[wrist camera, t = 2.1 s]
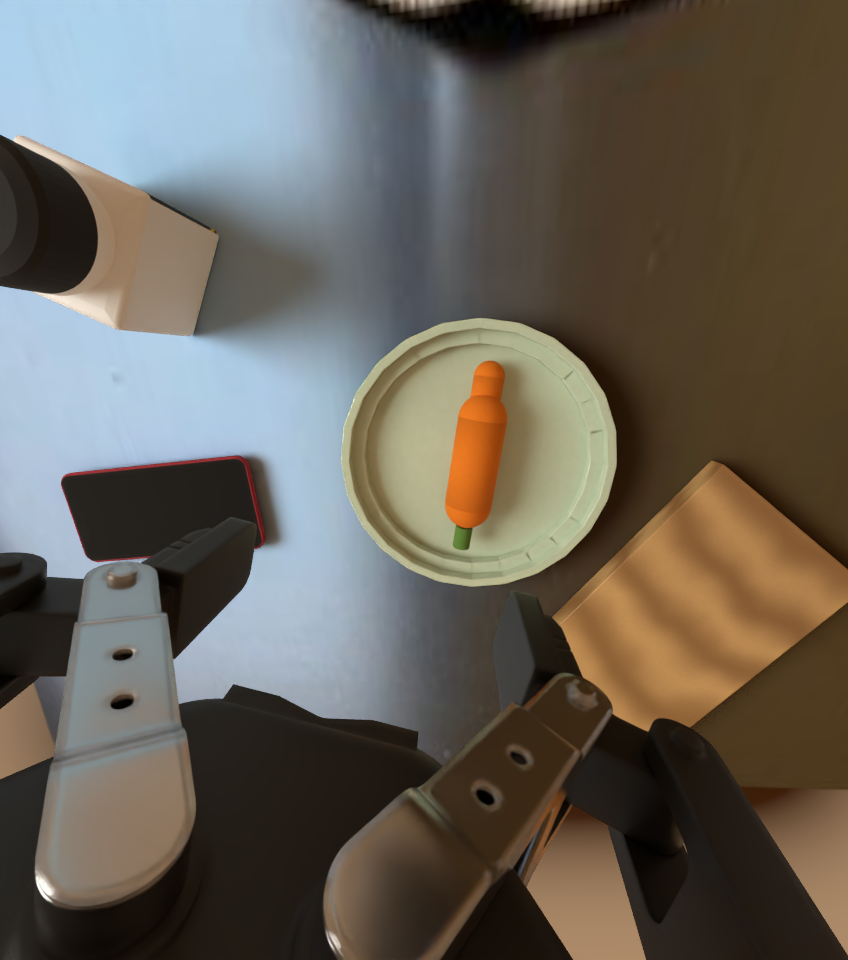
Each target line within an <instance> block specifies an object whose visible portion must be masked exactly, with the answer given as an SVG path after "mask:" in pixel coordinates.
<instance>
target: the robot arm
mask: <svg viewBox="0 0 848 960" xmlns="http://www.w3.org/2000/svg"><path fill="white" fill-rule="evenodd" d="M256 533H257V526H256V524H255V523H252V522H249V521H245V520H241V519H237V518H233V517H230V518H228V519H226V520H225V521H223V522H222V523H220V524H219V525H217V526H216V527H214V528H213V529H212V528H205V529H201V530H197V531H194V532H191V533H189V534H187V535H186V536H184V537H183V538H181V539H180V540H179V541H176V542H174V543H173V544H171V545H170V546H169V547H166V548H165V549H163V550H161V551H160V552H158V553H156V554H155V555H153V556H152V557H150V558H148V559H147V560H145V561H143V562H142V563H137V562H115V563H109V564H105V565H102V566H99V567H97V568H94V569H93V570H91V571H90V572H88V573H87V574H86V576H85V577H84V579H72V578H56V577H47V562H46V561H45V559H43V558H42V557H40V556H37V555H34V554H28V553H0V709H1V708H2V707H3V706H5V705H6V704H7V703H8V702H10V701H11V700H12V699H13V698H14V697H16V696H17V695H18V694H20V693H21V692H22V691H23V690H24V689H26V688H27V687H28V686H29V685H31V684H32V683H33V682H34V681H36V680H37V679H38V678H39V677H40V676H66V682H65V688H64V694H63V701H62V707H61V714H60V720H59V727H58V733H57V740H56V746H55V753H54V757H51V758H49V759H47V760H44V761H42V762H40V763H37V764H35V765H33V766H30V767H28V768H26V769H24V770H21V771H19V772H16V773H14V774H12V775H10V776H7V777H5V778H2V779H0V960H573V959H572V957H571V956H570V954H569V953H568V951H567V950H566V948H565V947H564V945H563V943H562V942H561V940H560V939H559V937H558V936H557V934H556V933H555V931H554V929H553V928H552V926H551V925H550V923H549V922H548V920H547V919H546V917H545V916H544V914H543V913H542V911H541V909H540V908H539V907H538V905H537V903H536V902H535V900H534V899H533V897H532V896H531V894H530V892H529V891H528V890H527V888H526V886H527V884H528V882H529V880H530V878H531V876H532V874H533V872H534V870H535V869H536V867H537V865H538V863H539V861H540V860H541V858H542V856H543V854H544V853H545V851H546V850H547V848H548V846H549V844H550V843H551V841H552V839H553V838H554V836H555V834H556V832H557V831H558V829H559V827H560V826H561V824H562V822H563V821H564V819H565V817H566V816H567V814H568V812H569V810H570V809H571V806H572V805H574V806H575V807H577V808H579V809H581V810H582V811H584V812H586V813H588V814H590V815H591V816H593V817H595V818H597V819H598V820H600V821H602V822H604V823H605V824H607V825H608V828H609V832H610V836H611V840H612V843H613V846H614V850H615V853H616V857H617V860H618V864H619V867H620V871H621V874H622V878H623V881H624V884H625V888H626V891H627V895H628V898H629V902H630V905H631V909H632V912H633V916H634V919H635V922H636V926H637V929H638V933H639V936H640V940H641V943H642V946H643V950H644V954H645V957H646V960H848V955H847V954H846V952H845V950H844V949H843V947H842V946H841V944H840V943H839V941H838V940H837V938H836V936H835V935H834V933H833V932H832V930H831V929H830V927H829V925H828V924H827V922H826V921H825V919H824V918H823V916H822V915H821V913H820V911H819V910H818V908H817V907H816V905H815V904H814V902H813V901H812V899H811V898H810V896H809V894H808V893H807V891H806V890H805V888H804V887H803V885H802V883H801V882H800V880H799V879H798V877H797V876H796V874H795V872H794V871H793V869H792V868H791V866H790V865H789V863H788V861H787V860H786V858H785V857H784V855H783V854H782V852H781V851H780V849H779V847H778V846H777V844H776V843H775V841H774V840H773V838H772V837H771V835H770V833H769V832H768V831H767V829H766V827H765V826H764V824H763V823H762V821H761V819H760V818H759V816H758V815H757V813H756V812H755V810H754V808H753V807H752V805H751V804H750V802H749V801H748V799H747V798H746V796H745V794H744V793H743V791H742V790H741V788H740V787H739V785H738V783H737V782H736V780H735V779H734V777H733V776H732V774H731V773H730V771H729V769H728V768H727V766H726V765H725V763H724V762H723V760H722V759H721V757H720V755H719V754H718V753H717V751H716V750H715V749H714V747H713V746H712V745H711V744H710V743H709V742H708V741H707V740H706V739H704V738H703V737H702V736H701V735H700V734H698V733H697V732H695V731H694V730H692V729H691V728H689V727H687V726H686V725H684V724H682V723H679V722H677V721H674V720H671V719H666V718H658V719H655V720H654V721H653V723H652V725H651V727H650V729H649V731H648V732H647V731H645V730H643V729H641V728H639V727H637V726H635V725H633V724H631V723H629V722H627V721H624V720H622V719H621V718H619V717H617V716H615V715H614V714H612V713H613V707H612V704H611V701H610V700H609V698H608V697H607V695H606V694H605V693H604V692H603V691H602V690H601V689H600V688H599V687H597V686H596V685H595V684H593V683H592V682H590V681H588V680H587V679H585V678H583V676H582V674H581V671H580V669H579V667H578V664H577V662H576V660H575V657H574V655H573V653H572V652H571V648H570V646H569V643H568V642H567V639H566V636H565V634H564V632H563V629H562V628H561V627H560V625H559V624H558V623H557V622H556V621H555V620H554V619H553V618H552V617H551V616H548V615H544V614H543V611H542V608H541V606H540V603H539V600H538V598H537V596H534V595H530V594H527V593H523V592H519V591H515V590H512V591H511V592H510V594H509V596H508V599H507V602H506V605H505V608H504V611H503V614H502V617H501V620H500V623H499V626H498V629H497V632H496V635H495V639H494V645H493V658H494V665H495V671H496V678H497V685H498V692H499V699H500V706H501V713H500V714H499V715H498V716H497V717H496V718H495V719H494V720H493V721H492V722H491V723H489V724H488V725H487V726H486V727H485V728H484V729H483V730H482V731H481V732H480V733H479V734H478V735H476V736H475V737H474V738H473V739H472V740H471V741H470V742H469V743H468V744H467V745H466V746H465V747H464V748H462V749H461V750H460V751H459V752H458V753H457V754H456V755H455V756H454V757H453V758H452V759H451V760H449V761H448V762H447V763H446V764H445V765H444V766H442V765H441V764H440V763H438V762H437V761H436V760H435V759H434V758H432V757H431V756H429V755H428V754H426V753H425V752H423V751H421V750H419V749H417V741H418V732H417V731H413V730H409V729H405V728H401V727H397V726H393V725H389V724H385V723H382V722H378V721H374V720H353V719H327V718H321V717H319V716H317V715H315V714H313V713H311V712H309V711H307V710H305V709H303V708H301V707H299V706H297V705H295V704H293V703H291V702H289V701H287V700H286V699H284V698H282V697H280V696H277V695H273V694H269V693H265V692H261V691H257V690H253V689H250V688H246V687H242V686H238V685H234V684H233V686H232V687H231V688H230V690H229V691H228V693H227V694H226V696H225V697H224V698H223V699H203V700H196V701H191V702H186V703H182V704H179V703H178V695H177V687H176V679H175V671H174V663H173V659H175V658H176V657H177V656H178V655H179V654H180V653H181V652H182V651H183V650H184V649H185V648H186V647H187V646H188V645H189V644H190V643H191V642H192V641H193V640H194V639H195V638H196V637H197V636H198V634H199V633H200V632H201V631H202V630H203V629H204V628H205V627H206V626H207V625H208V624H209V623H210V622H211V621H212V620H213V619H214V618H215V617H216V616H217V615H218V614H219V613H220V612H221V611H222V610H223V609H224V608H225V607H226V606H227V605H228V603H229V602H230V601H231V600H232V599H233V598H234V597H235V596H236V595H237V594H238V593H239V592H240V591H241V590H242V589H243V587H244V586H245V584H246V582H247V580H248V577H249V575H250V571H251V565H252V559H253V552H254V546H255V540H256ZM683 843H685V846H686V849H687V852H686V850H685V848H684V846H683ZM687 854H688V855H687Z"/></svg>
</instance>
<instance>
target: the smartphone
mask: <svg viewBox="0 0 848 960" xmlns="http://www.w3.org/2000/svg"><path fill="white" fill-rule="evenodd" d="M61 486H62V489H63V492H64V495H65V498H66V501H67V503H68V506H69V509H70V512H71V515H72V518H73V521H74V524H75V526H76V529H77V532H78V535H79V538H80V541H81V544H82V547H83V549H84V552H85V555H86V556H87V557H88V558H89V559H91V560H92V561H95V562H104V561H116V560H128V559H140V558H150V557H152V556H153V555H155V554H156V553H158V552H160V551H161V550H163V549H165V548H166V547H169V546H170V545H171V544H173V543H174V542H176V541H179V540H180V539H181V538H183V537H184V536H186V535H187V534H189V533H191V532H194V531H197V530H201V529H205V528H212V529H213V528H214V527H216V526H217V525H219V524H220V523H222V522H223V521H225V520H226V519H228V518H230V517H233V518H237V519H241V520H245V521H249V522H252V523H255V524H256V526H257V533H256V540H255V546H254V549H257V548H260V547H261V546H262V545H263V544H264V543H265V540H266V536H265V531H264V526H263V522H262V518H261V513H260V509H259V504H258V500H257V496H256V491H255V487H254V482H253V478H252V473H251V469H250V465H249V463H248V461H247V460H246V459H244V458H243V457H241V456H227V457H218V458H208V459H199V460H189V461H180V462H170V463H161V464H151V465H142V466H132V467H123V468H113V469H104V470H94V471H85V472H75V473H69V474H66V475H65V476H63V478H62V481H61Z"/></svg>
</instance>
